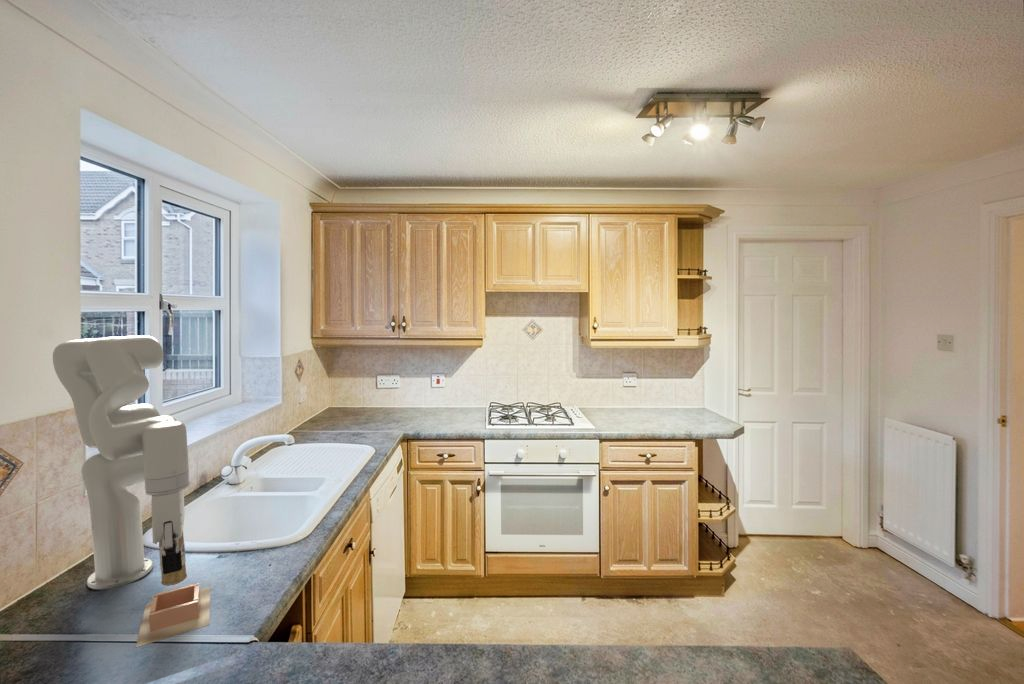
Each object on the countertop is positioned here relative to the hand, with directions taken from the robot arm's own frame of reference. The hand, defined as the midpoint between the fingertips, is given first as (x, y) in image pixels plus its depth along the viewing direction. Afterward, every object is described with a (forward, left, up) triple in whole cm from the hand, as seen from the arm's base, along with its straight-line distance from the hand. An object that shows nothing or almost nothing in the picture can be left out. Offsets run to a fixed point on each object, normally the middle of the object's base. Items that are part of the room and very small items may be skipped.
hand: (173, 565), depth 101 cm
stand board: (0, 0, -12) cm, 12 cm away
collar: (0, 0, -11) cm, 11 cm away
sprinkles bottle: (0, 0, -4) cm, 4 cm away
